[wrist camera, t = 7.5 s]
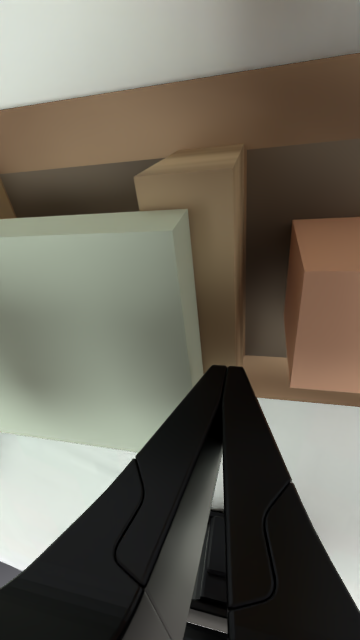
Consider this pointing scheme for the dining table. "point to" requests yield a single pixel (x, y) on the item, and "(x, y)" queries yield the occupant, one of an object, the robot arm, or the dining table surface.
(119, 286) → the cover
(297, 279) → the block
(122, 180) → the wooden slotted rack
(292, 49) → the dining table surface
